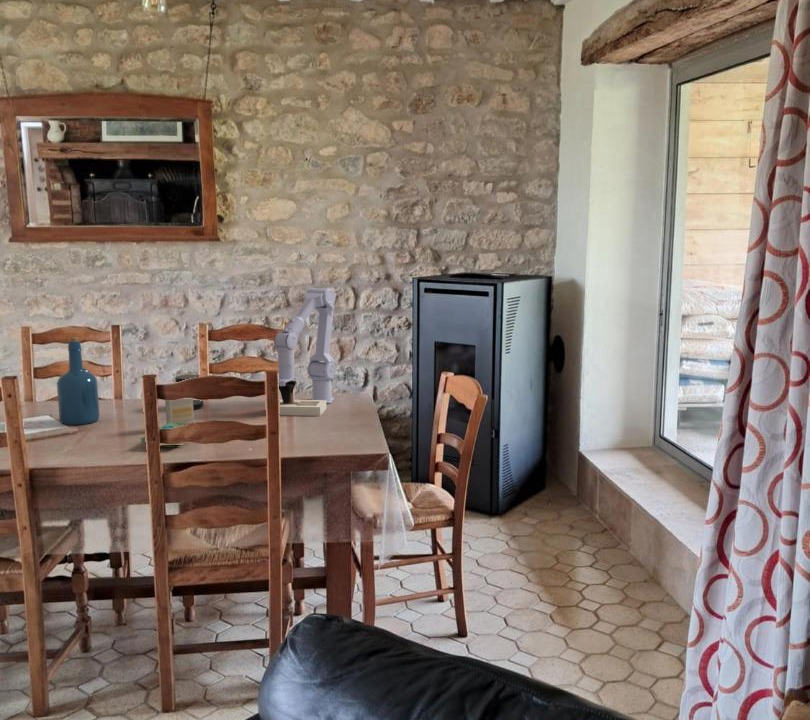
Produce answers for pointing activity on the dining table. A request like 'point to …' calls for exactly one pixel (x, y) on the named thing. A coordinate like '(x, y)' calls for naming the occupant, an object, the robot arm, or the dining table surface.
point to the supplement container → (196, 403)
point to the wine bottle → (77, 390)
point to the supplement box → (179, 411)
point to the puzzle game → (167, 426)
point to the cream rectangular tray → (303, 408)
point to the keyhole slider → (290, 399)
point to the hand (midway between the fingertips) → (287, 401)
